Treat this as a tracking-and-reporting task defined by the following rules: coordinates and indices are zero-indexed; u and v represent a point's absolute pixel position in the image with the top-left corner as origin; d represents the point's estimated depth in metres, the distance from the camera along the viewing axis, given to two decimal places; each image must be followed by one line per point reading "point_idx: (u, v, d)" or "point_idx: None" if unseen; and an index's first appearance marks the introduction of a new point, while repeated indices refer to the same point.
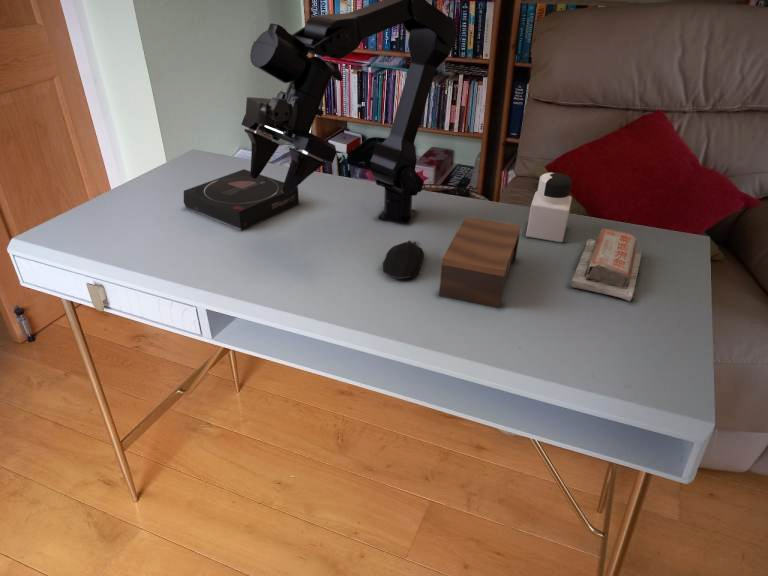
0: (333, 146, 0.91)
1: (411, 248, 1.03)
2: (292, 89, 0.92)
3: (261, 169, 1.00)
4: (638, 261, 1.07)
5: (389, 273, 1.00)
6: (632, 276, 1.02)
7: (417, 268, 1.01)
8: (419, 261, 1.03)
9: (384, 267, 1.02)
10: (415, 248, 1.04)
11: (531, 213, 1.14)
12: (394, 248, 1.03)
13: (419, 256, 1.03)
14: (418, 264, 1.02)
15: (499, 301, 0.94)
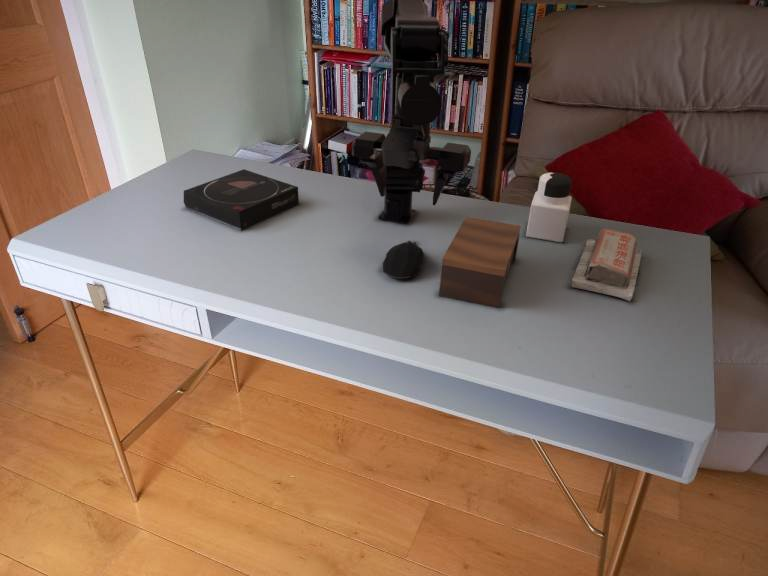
0: (468, 147, 0.94)
1: (411, 248, 1.03)
2: None
3: (385, 184, 1.01)
4: (638, 261, 1.07)
5: (389, 273, 1.00)
6: (632, 276, 1.02)
7: (417, 268, 1.01)
8: (419, 261, 1.03)
9: (384, 267, 1.02)
10: (415, 248, 1.04)
11: (531, 213, 1.14)
12: (394, 248, 1.03)
13: (419, 256, 1.03)
14: (418, 264, 1.02)
15: (499, 301, 0.94)
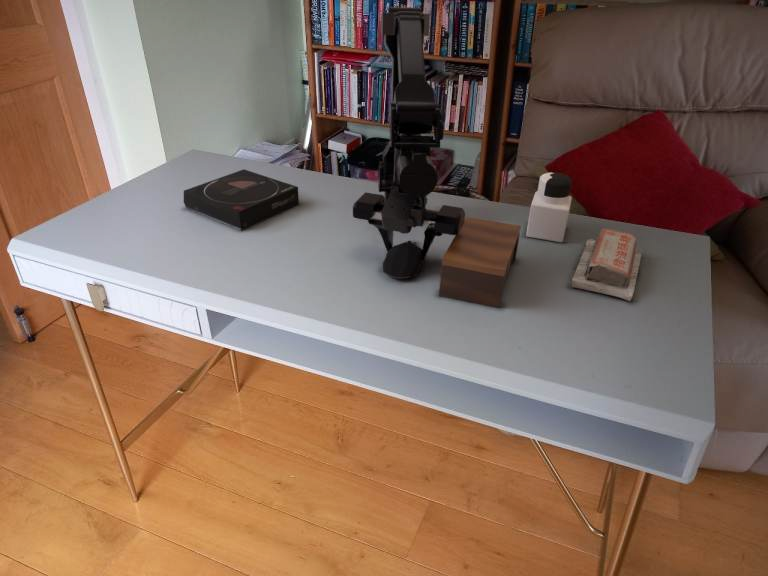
0: (463, 210, 1.00)
1: (411, 248, 1.03)
2: None
3: (392, 242, 1.07)
4: (638, 261, 1.07)
5: (389, 273, 1.00)
6: (632, 276, 1.02)
7: (417, 268, 1.01)
8: (419, 261, 1.03)
9: (384, 267, 1.02)
10: (415, 248, 1.04)
11: (531, 213, 1.14)
12: (394, 248, 1.03)
13: (419, 256, 1.03)
14: (418, 264, 1.02)
15: (499, 301, 0.94)
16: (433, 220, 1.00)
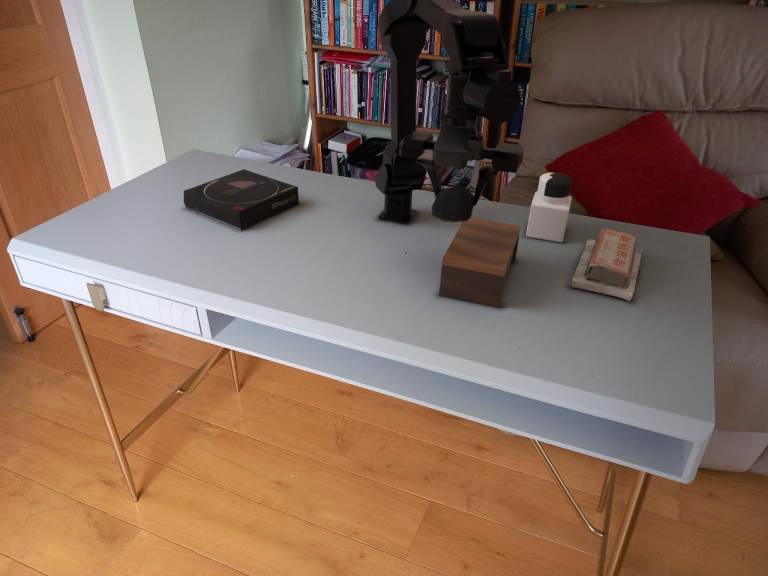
0: (521, 147, 0.91)
1: (462, 191, 0.94)
2: (463, 111, 0.87)
3: (440, 186, 0.98)
4: (638, 261, 1.07)
5: (439, 216, 0.92)
6: (632, 276, 1.02)
7: (470, 212, 0.92)
8: (471, 205, 0.94)
9: (433, 210, 0.93)
10: (466, 191, 0.95)
11: (531, 213, 1.14)
12: (444, 191, 0.95)
13: (471, 200, 0.94)
14: (471, 208, 0.93)
15: (499, 301, 0.94)
16: (489, 158, 0.91)
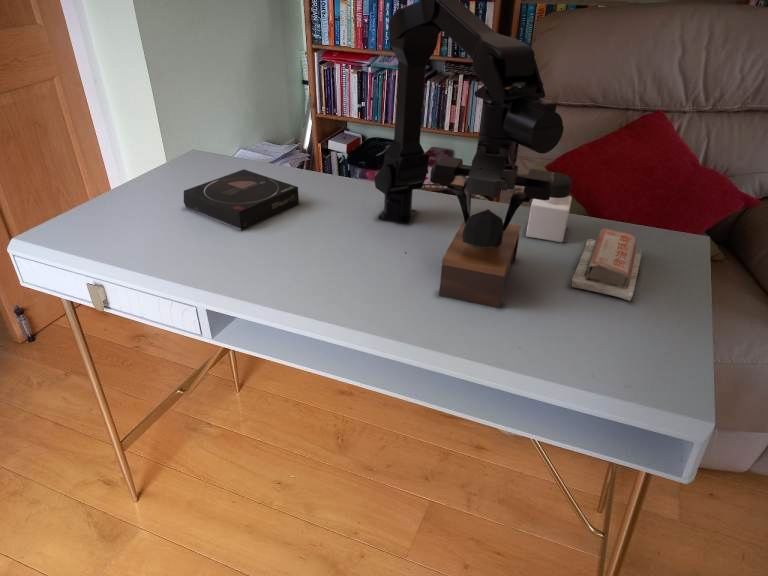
0: (553, 174, 0.91)
1: (493, 216, 0.95)
2: (496, 140, 0.87)
3: None
4: (638, 261, 1.07)
5: (471, 243, 0.92)
6: (632, 276, 1.02)
7: (501, 238, 0.93)
8: (502, 230, 0.94)
9: (465, 236, 0.93)
10: (496, 217, 0.96)
11: (531, 213, 1.14)
12: (474, 216, 0.95)
13: (502, 225, 0.95)
14: (502, 233, 0.93)
15: (499, 301, 0.94)
16: (520, 185, 0.91)
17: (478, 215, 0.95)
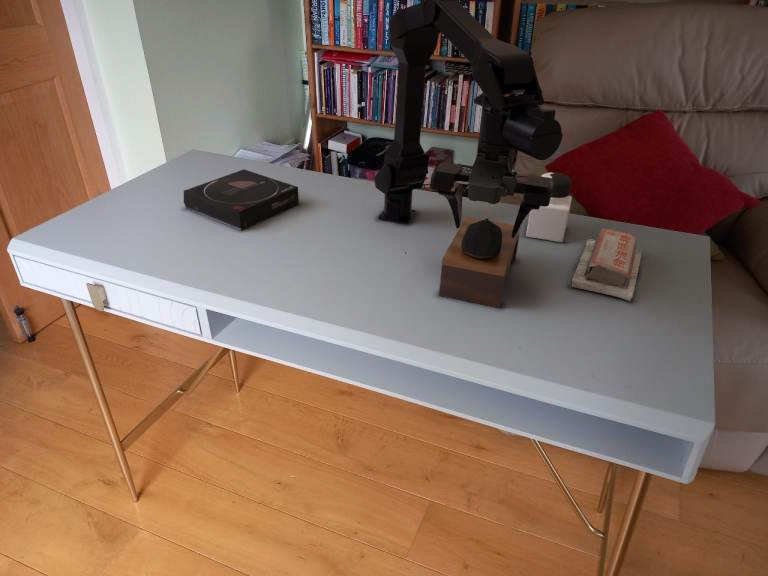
0: (552, 180, 0.92)
1: (492, 226, 0.95)
2: (496, 147, 0.88)
3: (461, 215, 0.99)
4: (638, 261, 1.07)
5: (470, 252, 0.93)
6: (632, 276, 1.02)
7: (500, 247, 0.94)
8: (501, 240, 0.95)
9: (464, 246, 0.94)
10: (495, 226, 0.97)
11: (531, 213, 1.14)
12: (473, 226, 0.96)
13: (500, 234, 0.95)
14: (500, 243, 0.94)
15: (499, 301, 0.94)
16: None
17: (477, 224, 0.96)
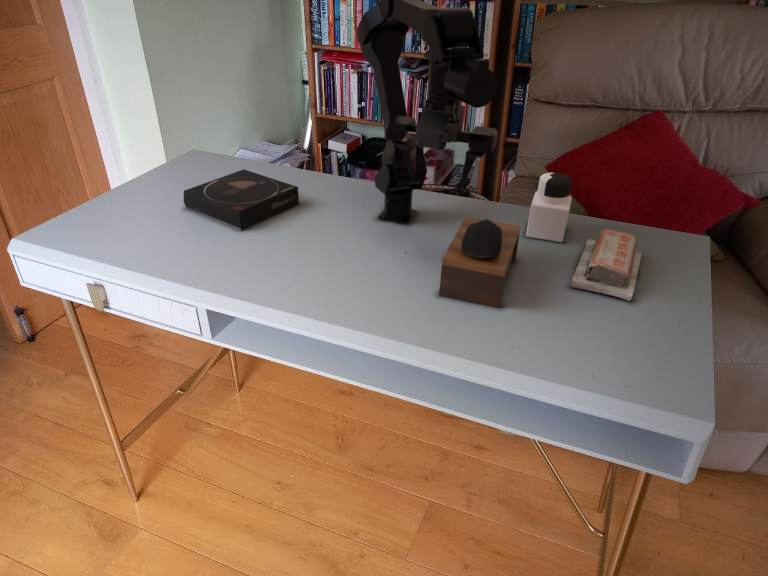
0: (496, 131, 0.99)
1: (492, 226, 0.95)
2: (442, 97, 0.95)
3: (415, 166, 1.06)
4: (638, 261, 1.07)
5: (470, 252, 0.93)
6: (632, 276, 1.02)
7: (500, 247, 0.94)
8: (501, 240, 0.95)
9: (464, 246, 0.94)
10: (495, 226, 0.97)
11: (531, 213, 1.14)
12: (473, 226, 0.96)
13: (500, 234, 0.95)
14: (500, 243, 0.94)
15: (499, 301, 0.94)
16: None
17: (477, 224, 0.96)
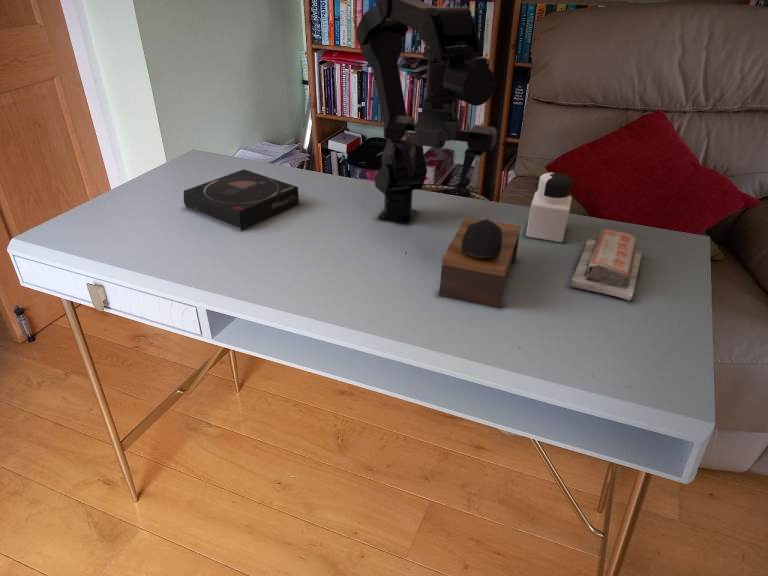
0: (495, 129, 0.99)
1: (492, 226, 0.95)
2: (440, 96, 0.95)
3: (414, 165, 1.06)
4: (638, 261, 1.07)
5: (470, 252, 0.93)
6: (632, 276, 1.02)
7: (500, 247, 0.94)
8: (501, 240, 0.95)
9: (464, 246, 0.94)
10: (495, 226, 0.97)
11: (531, 213, 1.14)
12: (473, 226, 0.96)
13: (500, 234, 0.95)
14: (500, 243, 0.94)
15: (499, 301, 0.94)
16: None
17: (477, 224, 0.96)
